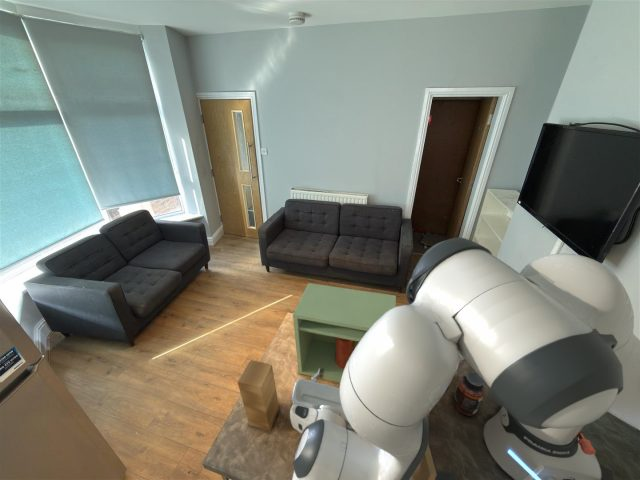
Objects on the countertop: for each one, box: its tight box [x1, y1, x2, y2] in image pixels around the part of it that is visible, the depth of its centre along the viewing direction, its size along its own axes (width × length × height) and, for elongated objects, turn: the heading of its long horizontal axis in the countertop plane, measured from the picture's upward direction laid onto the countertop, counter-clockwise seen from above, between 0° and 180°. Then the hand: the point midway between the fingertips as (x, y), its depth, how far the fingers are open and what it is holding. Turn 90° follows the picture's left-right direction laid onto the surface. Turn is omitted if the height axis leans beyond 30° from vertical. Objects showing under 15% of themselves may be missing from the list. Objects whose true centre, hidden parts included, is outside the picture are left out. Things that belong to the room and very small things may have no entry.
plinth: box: [237, 359, 280, 432], centre depth 66 cm, size 6×6×18 cm
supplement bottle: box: [452, 371, 486, 416], centre depth 69 cm, size 6×6×11 cm
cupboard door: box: [409, 444, 456, 480], centre depth 56 cm, size 6×26×24 cm, turn 178°
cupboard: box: [292, 282, 397, 384], centre depth 78 cm, size 14×26×24 cm, turn 75°
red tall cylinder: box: [335, 337, 355, 369], centre depth 80 cm, size 6×6×12 cm
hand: (338, 373), depth 71 cm, fingers open, 8 cm apart
